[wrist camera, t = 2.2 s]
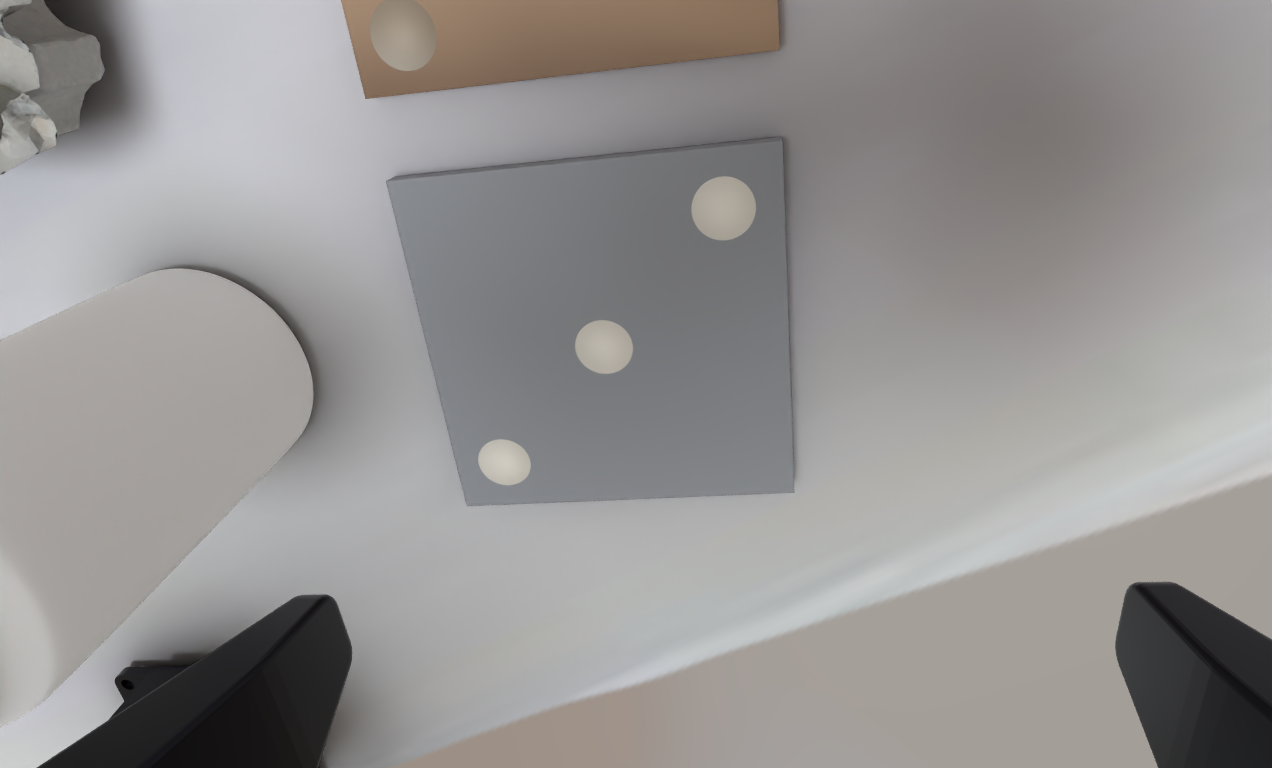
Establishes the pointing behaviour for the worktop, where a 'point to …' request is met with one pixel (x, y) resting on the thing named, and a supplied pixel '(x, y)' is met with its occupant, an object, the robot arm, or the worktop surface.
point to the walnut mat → (542, 38)
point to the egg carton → (40, 79)
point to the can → (128, 455)
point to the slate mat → (608, 322)
